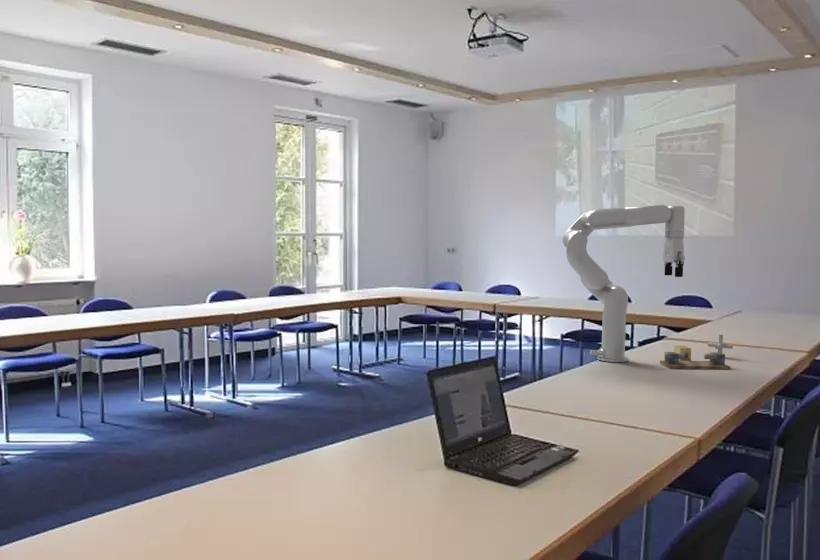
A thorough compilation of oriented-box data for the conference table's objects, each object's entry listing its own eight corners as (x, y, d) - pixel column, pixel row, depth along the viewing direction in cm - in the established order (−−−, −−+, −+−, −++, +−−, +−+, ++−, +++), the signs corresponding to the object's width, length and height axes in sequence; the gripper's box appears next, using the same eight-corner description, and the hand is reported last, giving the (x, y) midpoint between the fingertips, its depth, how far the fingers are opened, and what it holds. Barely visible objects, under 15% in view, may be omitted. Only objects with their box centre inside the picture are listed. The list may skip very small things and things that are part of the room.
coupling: (690, 362, 311) (691, 348, 311) (679, 362, 311) (680, 348, 310) (684, 359, 318) (684, 345, 318) (673, 359, 318) (674, 345, 318)
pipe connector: (728, 359, 318) (729, 336, 317) (704, 357, 324) (705, 334, 323) (734, 356, 326) (735, 334, 325) (711, 354, 332) (712, 332, 331)
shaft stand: (670, 368, 295) (670, 355, 295) (659, 363, 307) (660, 350, 307) (730, 369, 296) (730, 356, 295) (717, 363, 308) (717, 351, 307)
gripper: (657, 235, 319) (656, 274, 320) (675, 235, 302) (674, 277, 303) (673, 235, 320) (672, 274, 321) (692, 235, 302) (691, 277, 304)
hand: (673, 276), depth 312 cm, fingers open, 9 cm apart
